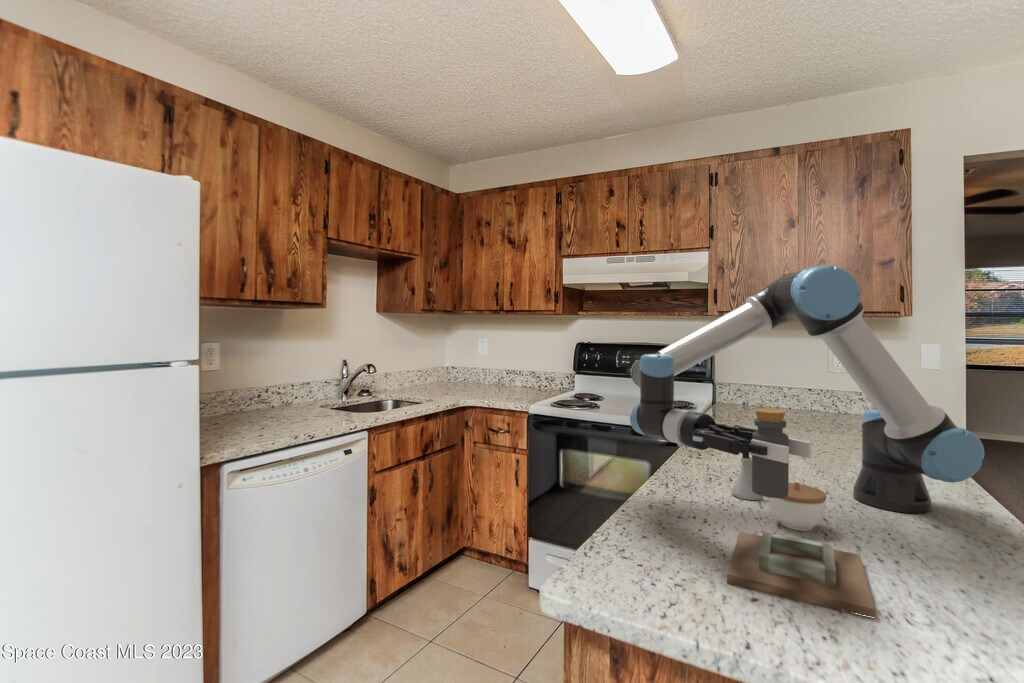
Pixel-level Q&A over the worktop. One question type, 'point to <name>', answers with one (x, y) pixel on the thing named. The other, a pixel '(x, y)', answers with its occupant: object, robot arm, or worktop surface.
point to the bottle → (769, 473)
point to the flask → (745, 482)
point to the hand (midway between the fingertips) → (798, 452)
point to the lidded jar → (800, 507)
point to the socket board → (801, 571)
